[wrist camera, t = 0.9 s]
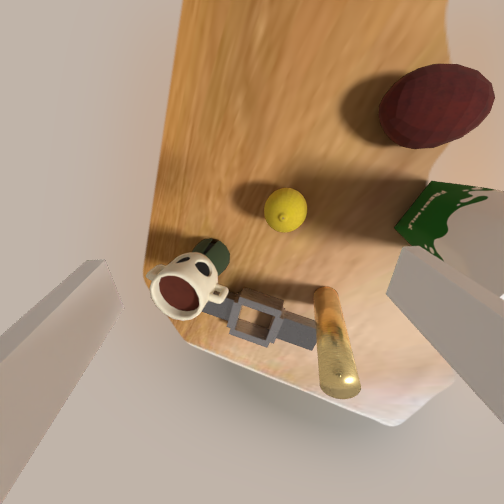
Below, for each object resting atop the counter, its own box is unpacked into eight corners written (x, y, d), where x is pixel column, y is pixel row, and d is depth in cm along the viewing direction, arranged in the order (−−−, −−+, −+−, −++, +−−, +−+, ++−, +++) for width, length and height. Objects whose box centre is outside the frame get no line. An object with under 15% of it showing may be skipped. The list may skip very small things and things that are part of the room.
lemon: (272, 224, 34) (264, 243, 27) (265, 188, 32) (254, 198, 25) (309, 218, 33) (311, 237, 25) (303, 180, 31) (304, 188, 23)
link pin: (318, 283, 37) (328, 367, 22) (342, 291, 36) (368, 381, 22) (309, 301, 38) (314, 390, 24) (332, 309, 38) (350, 403, 24)
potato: (383, 71, 24) (406, 47, 19) (485, 79, 23) (541, 56, 18) (361, 144, 28) (375, 141, 22) (449, 155, 26) (488, 155, 21)
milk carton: (440, 258, 31) (627, 400, 13) (382, 230, 31) (489, 333, 13) (495, 201, 27) (869, 295, 9) (429, 169, 27) (671, 201, 9)
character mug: (248, 245, 36) (223, 289, 25) (238, 280, 40) (212, 333, 28) (187, 225, 37) (135, 258, 26) (182, 261, 40) (134, 305, 29)
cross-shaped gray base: (204, 273, 40) (196, 281, 38) (326, 315, 39) (327, 327, 36) (197, 310, 44) (190, 320, 42) (307, 349, 43) (308, 362, 40)
